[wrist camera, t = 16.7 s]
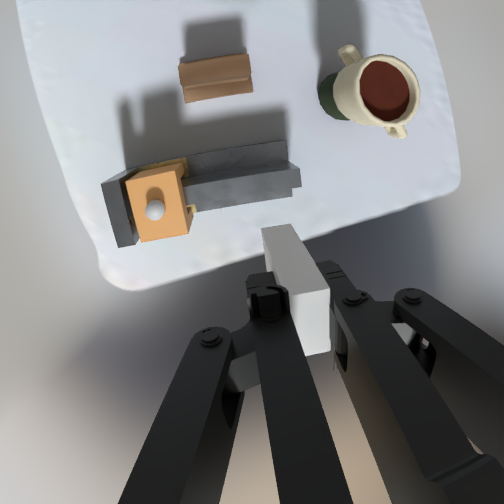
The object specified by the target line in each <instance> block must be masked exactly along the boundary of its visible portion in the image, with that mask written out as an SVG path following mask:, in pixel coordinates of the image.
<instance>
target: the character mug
mask: <svg viewBox="0 0 504 504" xmlns="http://www.w3.org/2000/svg"><path fill="white" fill-rule="evenodd" d="M338 55H339V56H340V58H341V59H342V61H343V62H344V64H345V65H346V66H345V67H344V68H343V69H342V70H341V71H340V72H339V73H335V74H332V75H329V76H328V77H327V78H326V79H325V80H324V81H323V82H322V83H321V87H320V90H319V100H320V105H321V106H322V107H323V109H324V110H325V112H326V113H327V114H328V115H330V116H332V117H333V118H335V119H339V120H352V121H354V122H356V123H358V124H361V125H373V126H384V128H385V129H386V131H387V133H388V134H389V135H390V136H391V137H395V138H400V139H402V138H406V137H407V131H406V129H405V127H404V125H403V124H406V123H408V122H409V121H410V120H411V119H412V117H413V116H414V115H415V114H416V112H417V109H418V106H419V103H420V87H419V83H418V80H417V78H416V75H415V74H414V72H413V71H412V69H411V68H410V67H409V66H408V65H407V64H406V63H405V62H403V61H402V60H400V59H398V58H396V57H394V56H390V55H384V54H377V55H374V56H370V57H367V58H364V59H363V57H362V56H361V54H360V53H359V51H358V50H357V48H356V47H355V46H354V45H353V44H347V45H345V46H343V47H341V48H340V49H339V50H338ZM349 55H350V56H351V57H352V58H351V57H350V56H349ZM352 59H353V60H354V61H353V60H352ZM394 127H395V128H394Z"/></svg>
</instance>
